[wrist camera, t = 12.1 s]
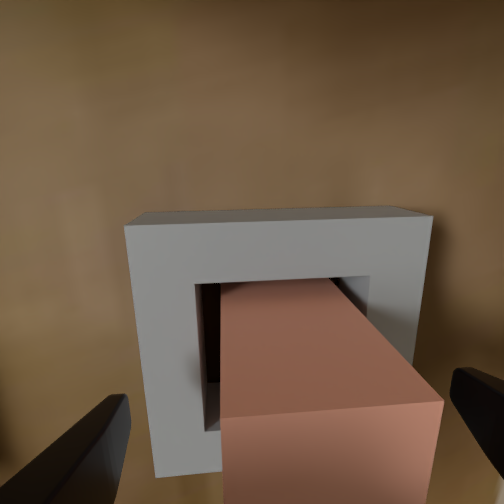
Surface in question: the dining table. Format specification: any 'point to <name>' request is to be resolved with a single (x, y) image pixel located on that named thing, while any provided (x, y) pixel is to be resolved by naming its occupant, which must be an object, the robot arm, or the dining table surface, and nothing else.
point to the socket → (255, 269)
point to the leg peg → (318, 401)
